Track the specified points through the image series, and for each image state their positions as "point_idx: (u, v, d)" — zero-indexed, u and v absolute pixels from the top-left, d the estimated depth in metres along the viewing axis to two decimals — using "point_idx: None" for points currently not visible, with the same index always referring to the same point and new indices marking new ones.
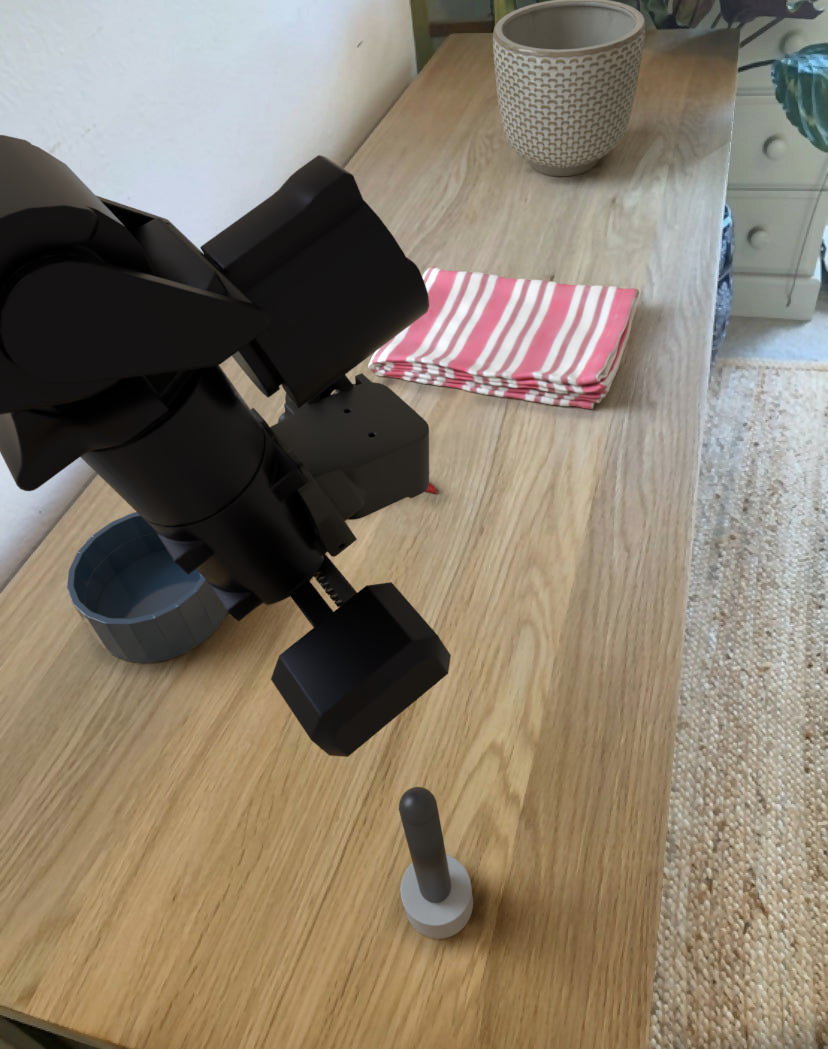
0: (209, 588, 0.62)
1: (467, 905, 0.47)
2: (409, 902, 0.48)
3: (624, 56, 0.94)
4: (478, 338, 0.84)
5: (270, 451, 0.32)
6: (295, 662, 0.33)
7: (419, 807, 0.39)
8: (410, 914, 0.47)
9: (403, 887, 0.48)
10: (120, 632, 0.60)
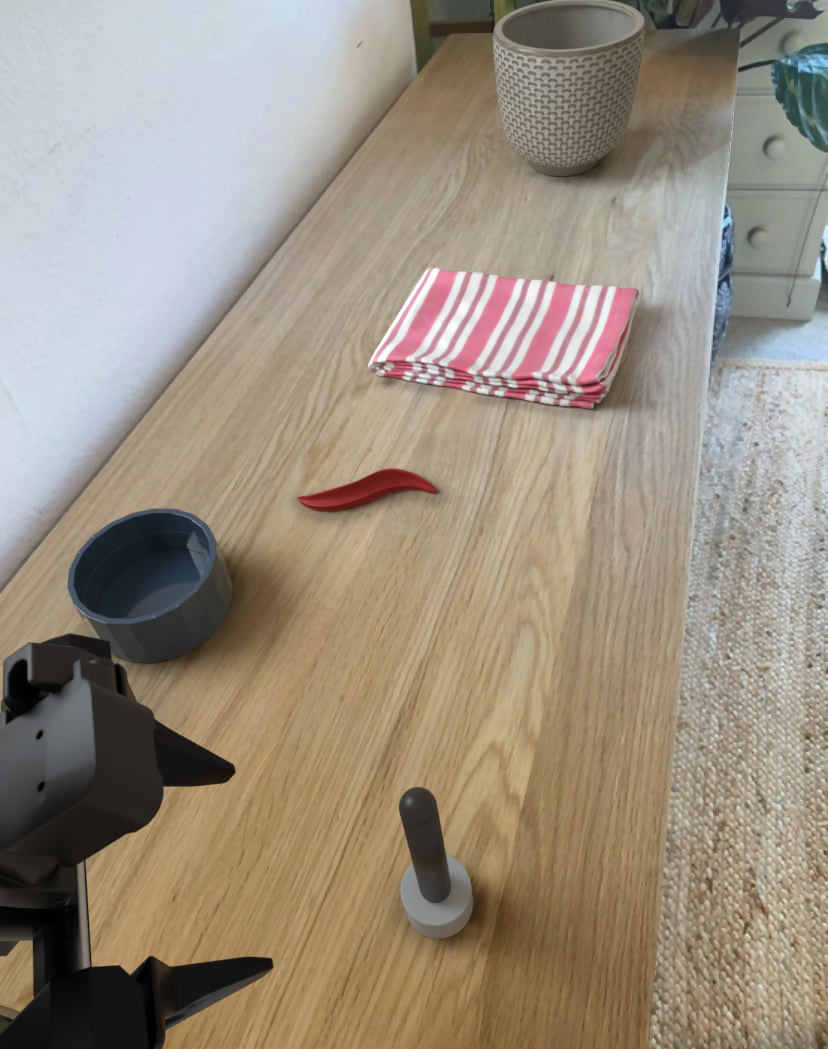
0: (209, 588, 0.62)
1: (467, 905, 0.47)
2: (409, 902, 0.48)
3: (624, 56, 0.94)
4: (478, 338, 0.84)
5: None
6: None
7: (419, 807, 0.39)
8: (410, 914, 0.47)
9: (403, 887, 0.48)
10: (120, 632, 0.60)
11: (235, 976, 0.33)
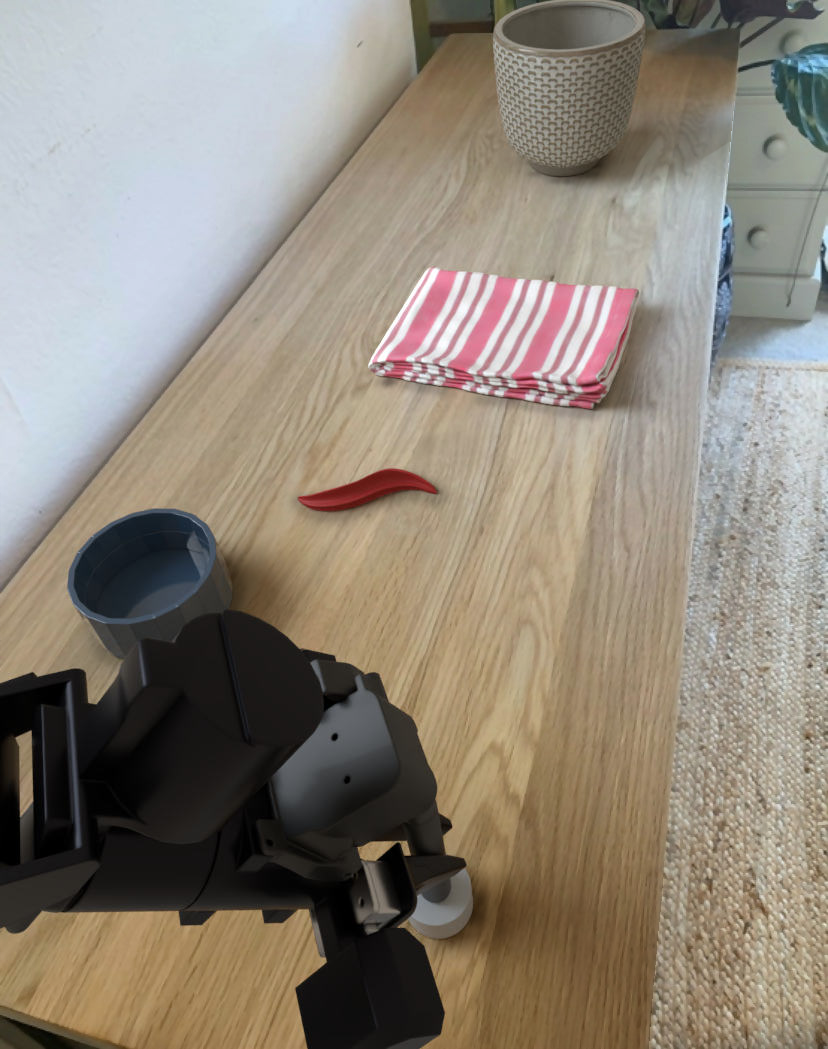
0: (209, 588, 0.62)
1: (467, 905, 0.47)
2: None
3: (624, 56, 0.94)
4: (478, 338, 0.84)
5: (230, 837, 0.33)
6: (303, 1002, 0.35)
7: None
8: None
9: None
10: (120, 632, 0.60)
11: (444, 868, 0.42)
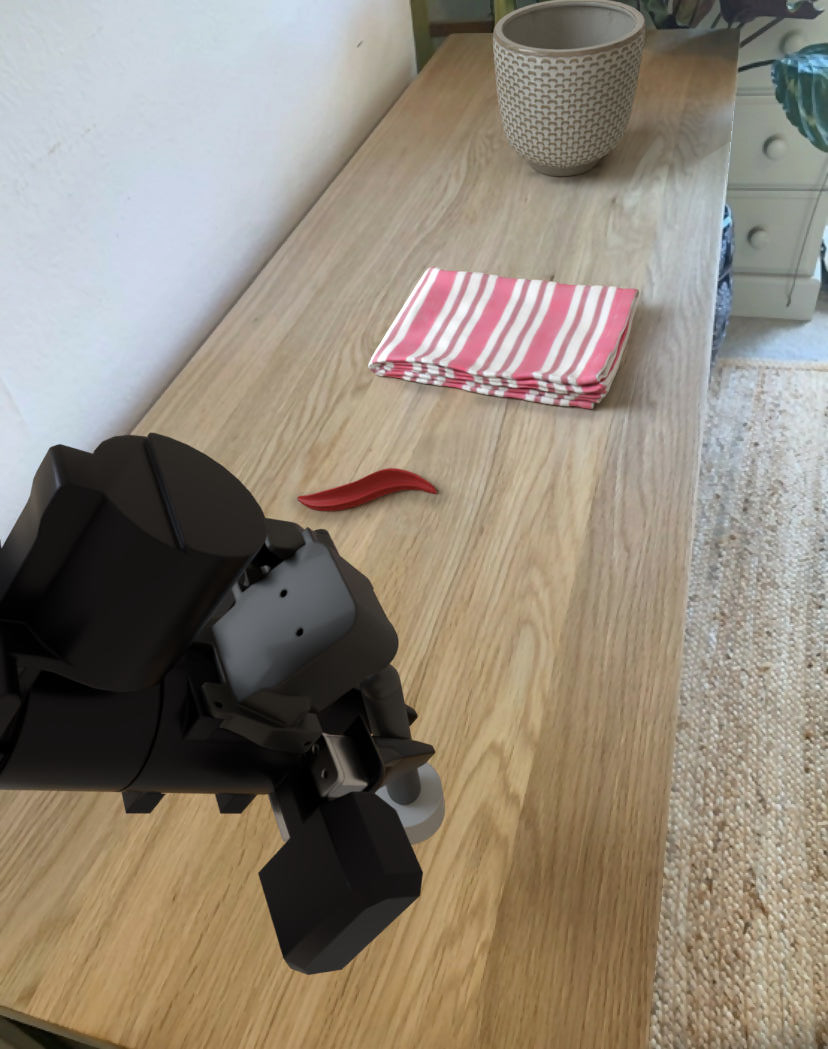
0: None
1: (439, 804, 0.45)
2: None
3: (624, 56, 0.94)
4: (478, 338, 0.84)
5: (175, 701, 0.30)
6: (268, 885, 0.32)
7: (381, 679, 0.37)
8: None
9: None
10: None
11: (412, 751, 0.39)
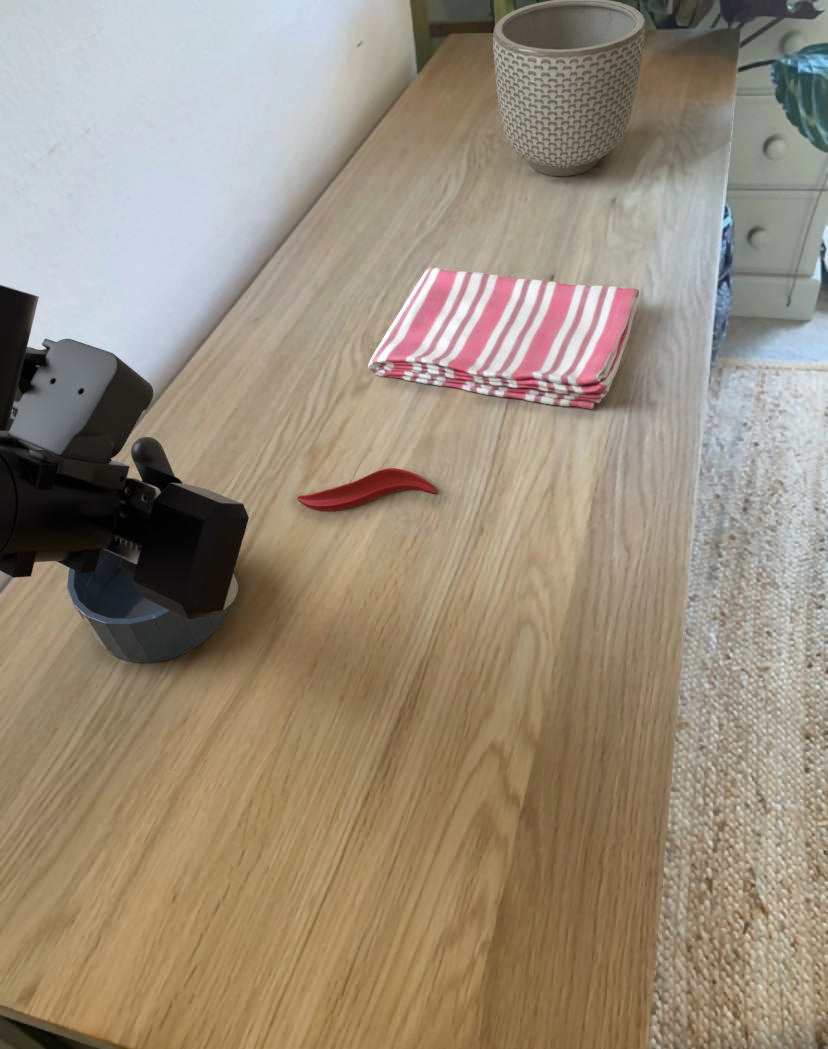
0: None
1: None
2: None
3: (624, 56, 0.94)
4: (478, 338, 0.84)
5: (15, 464, 0.40)
6: (145, 579, 0.43)
7: (148, 444, 0.48)
8: None
9: None
10: (120, 632, 0.60)
11: None
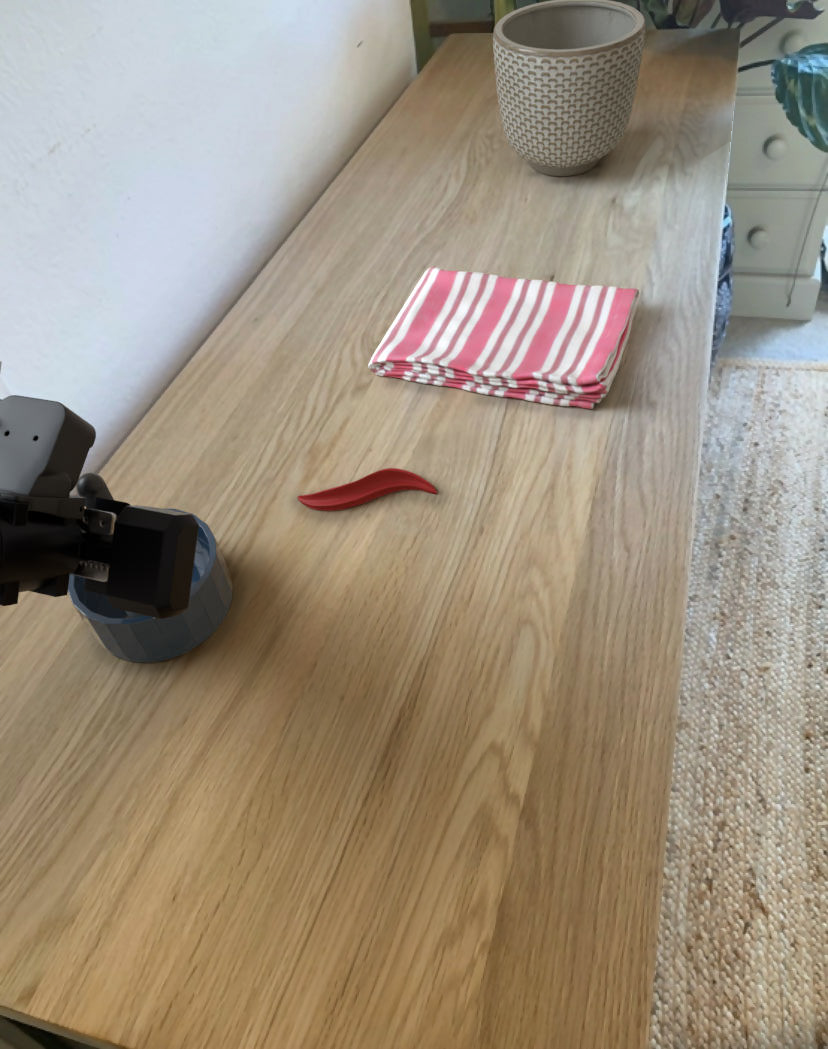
0: (209, 588, 0.62)
1: None
2: None
3: (624, 56, 0.94)
4: (478, 338, 0.84)
5: None
6: (117, 591, 0.50)
7: (91, 479, 0.55)
8: None
9: None
10: (120, 632, 0.60)
11: None
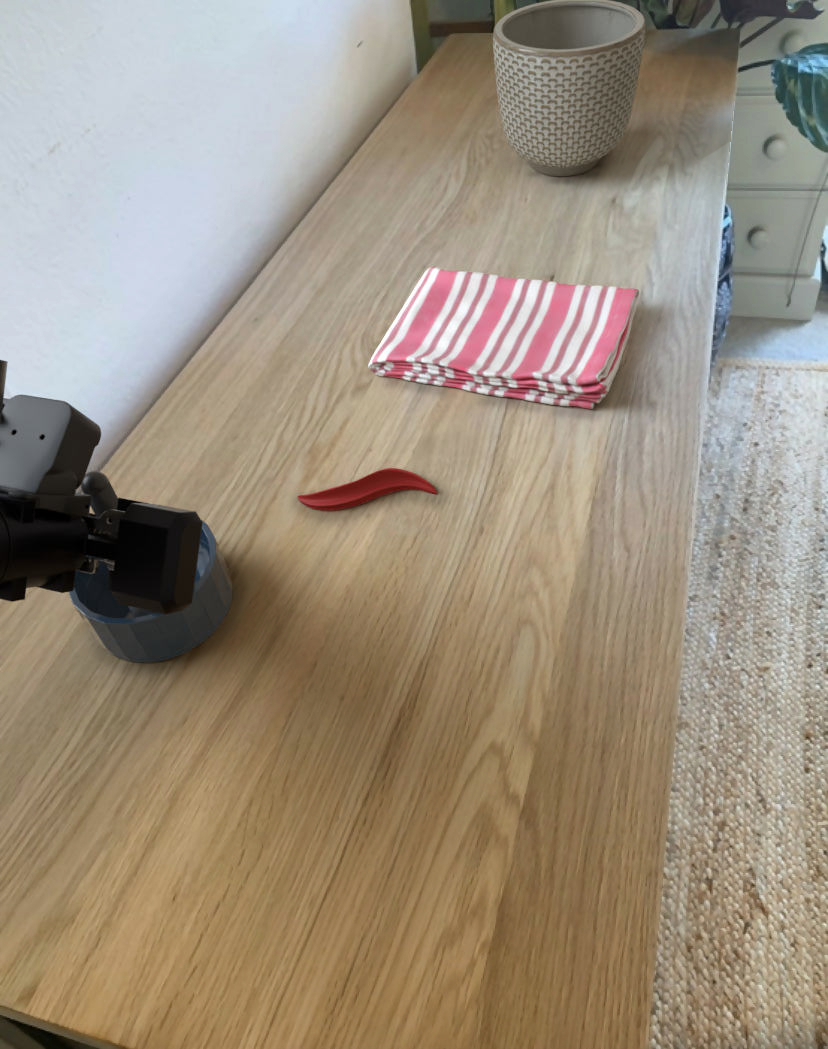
0: (209, 588, 0.62)
1: None
2: None
3: (624, 56, 0.94)
4: (478, 338, 0.84)
5: (0, 504, 0.47)
6: (122, 587, 0.51)
7: (95, 477, 0.56)
8: None
9: None
10: (120, 632, 0.60)
11: None
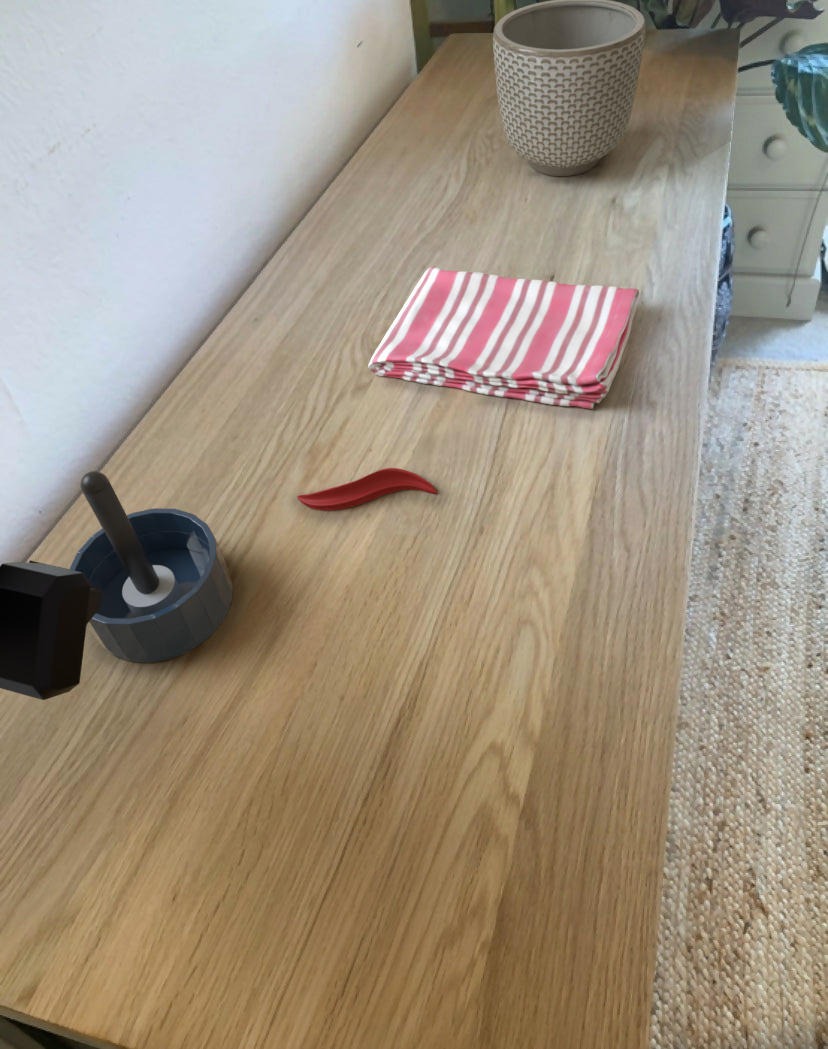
0: (209, 588, 0.62)
1: (174, 576, 0.65)
2: (140, 603, 0.63)
3: (624, 56, 0.94)
4: (478, 338, 0.84)
5: None
6: None
7: (95, 477, 0.56)
8: (146, 606, 0.63)
9: (129, 601, 0.63)
10: (120, 632, 0.60)
11: None
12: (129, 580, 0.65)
